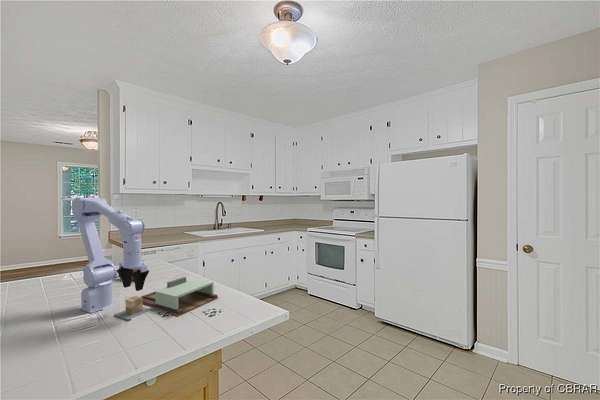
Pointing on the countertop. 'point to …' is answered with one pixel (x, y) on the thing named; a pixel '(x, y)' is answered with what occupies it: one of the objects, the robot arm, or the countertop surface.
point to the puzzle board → (181, 302)
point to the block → (134, 305)
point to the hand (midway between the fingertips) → (133, 288)
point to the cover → (181, 291)
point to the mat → (129, 316)
